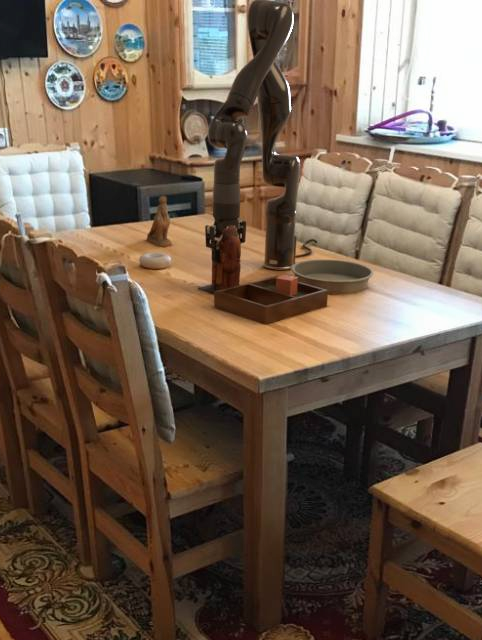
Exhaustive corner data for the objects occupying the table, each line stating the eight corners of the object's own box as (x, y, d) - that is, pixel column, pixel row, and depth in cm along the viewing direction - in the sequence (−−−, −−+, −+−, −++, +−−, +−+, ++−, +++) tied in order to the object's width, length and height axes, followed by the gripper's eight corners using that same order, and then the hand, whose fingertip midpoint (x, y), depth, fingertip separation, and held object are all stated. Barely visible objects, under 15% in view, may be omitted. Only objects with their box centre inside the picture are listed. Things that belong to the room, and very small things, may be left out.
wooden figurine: (205, 284, 238) (205, 220, 229) (224, 282, 241) (225, 218, 232) (225, 294, 229) (226, 229, 220) (244, 292, 232) (246, 227, 223)
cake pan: (273, 282, 244) (273, 267, 242) (325, 269, 260) (326, 255, 258) (337, 301, 230) (339, 285, 228) (388, 286, 246) (390, 270, 244)
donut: (135, 268, 252) (166, 271, 251) (134, 257, 251) (165, 259, 249) (145, 261, 261) (175, 263, 259) (144, 250, 259) (175, 252, 257)
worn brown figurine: (171, 252, 282) (175, 201, 270) (156, 253, 280) (160, 201, 268) (159, 238, 290) (163, 187, 278) (145, 238, 287) (148, 187, 276)
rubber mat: (225, 282, 242) (225, 281, 242) (251, 290, 236) (251, 289, 236) (197, 289, 235) (197, 287, 235) (224, 297, 229) (224, 295, 228)
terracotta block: (282, 290, 228) (283, 274, 226) (297, 293, 226) (298, 277, 224) (275, 294, 224) (276, 277, 222) (289, 297, 222) (290, 280, 220)
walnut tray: (276, 291, 236) (276, 275, 234) (327, 306, 225) (328, 289, 223) (213, 307, 220) (214, 290, 218) (265, 324, 209) (266, 307, 207)
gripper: (217, 204, 216) (216, 267, 224) (254, 199, 225) (252, 259, 234) (197, 200, 221) (197, 262, 229) (235, 195, 230) (234, 254, 238)
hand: (225, 260), depth 231 cm, fingers closed on wooden figurine, 7 cm apart
